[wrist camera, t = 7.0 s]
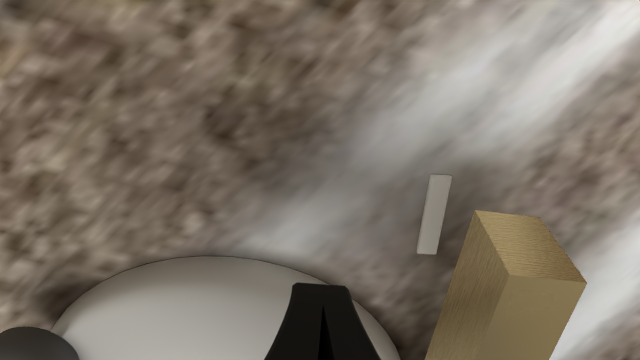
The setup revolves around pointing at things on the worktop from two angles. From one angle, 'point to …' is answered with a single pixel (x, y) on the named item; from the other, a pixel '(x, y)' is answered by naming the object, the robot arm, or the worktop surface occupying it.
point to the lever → (506, 292)
